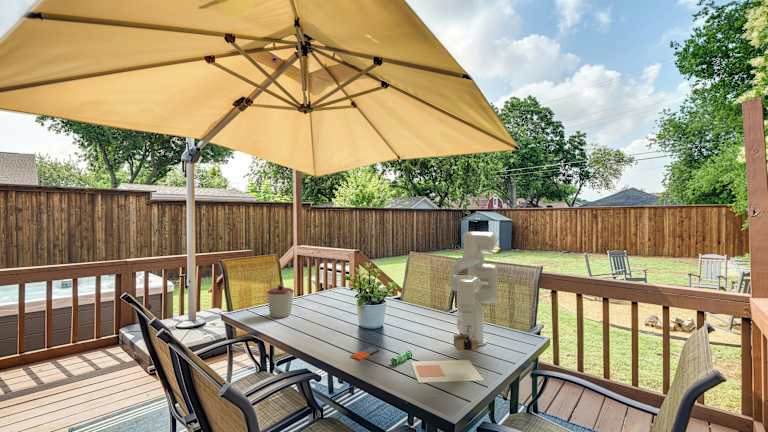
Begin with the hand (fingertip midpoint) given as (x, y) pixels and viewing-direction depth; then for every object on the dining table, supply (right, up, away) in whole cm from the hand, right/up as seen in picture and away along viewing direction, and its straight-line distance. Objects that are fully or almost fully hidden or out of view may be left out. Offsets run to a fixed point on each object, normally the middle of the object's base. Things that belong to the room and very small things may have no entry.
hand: (465, 346), depth 157 cm
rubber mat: (-9, -11, -1) cm, 14 cm away
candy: (-28, -11, +9) cm, 31 cm away
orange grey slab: (-46, -11, +17) cm, 50 cm away
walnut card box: (0, -1, 0) cm, 1 cm away
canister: (-106, -9, +79) cm, 133 cm away
